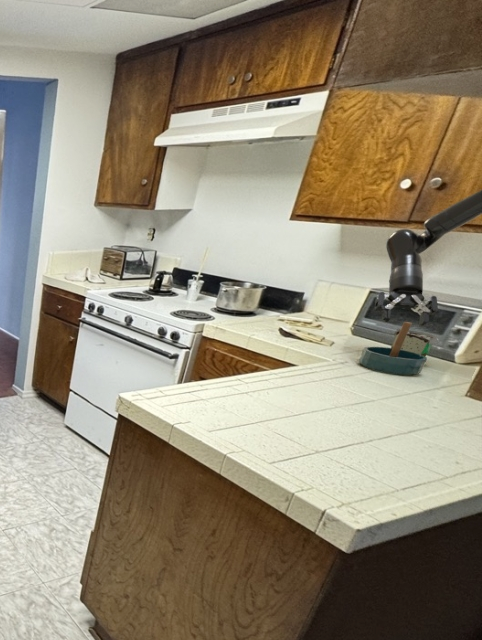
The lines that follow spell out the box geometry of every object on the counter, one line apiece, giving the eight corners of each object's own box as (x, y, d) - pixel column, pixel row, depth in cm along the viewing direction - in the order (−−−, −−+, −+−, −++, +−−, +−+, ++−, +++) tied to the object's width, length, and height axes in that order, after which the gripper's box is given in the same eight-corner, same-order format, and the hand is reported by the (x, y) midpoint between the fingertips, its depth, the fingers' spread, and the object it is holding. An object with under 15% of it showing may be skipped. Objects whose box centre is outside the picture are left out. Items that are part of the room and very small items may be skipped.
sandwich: (437, 367, 156) (451, 338, 153) (418, 367, 156) (432, 338, 153) (401, 356, 168) (413, 329, 164) (383, 356, 168) (395, 328, 164)
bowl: (408, 366, 157) (415, 350, 155) (428, 379, 145) (436, 362, 143) (351, 359, 163) (357, 344, 161) (366, 371, 151) (373, 355, 149)
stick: (394, 365, 155) (414, 322, 149) (400, 369, 151) (420, 324, 146) (377, 363, 157) (395, 320, 151) (382, 367, 153) (401, 323, 148)
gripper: (383, 272, 155) (382, 313, 150) (442, 276, 149) (443, 318, 144) (371, 286, 161) (369, 325, 156) (428, 290, 155) (428, 331, 150)
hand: (405, 322), depth 150 cm, fingers open, 8 cm apart
